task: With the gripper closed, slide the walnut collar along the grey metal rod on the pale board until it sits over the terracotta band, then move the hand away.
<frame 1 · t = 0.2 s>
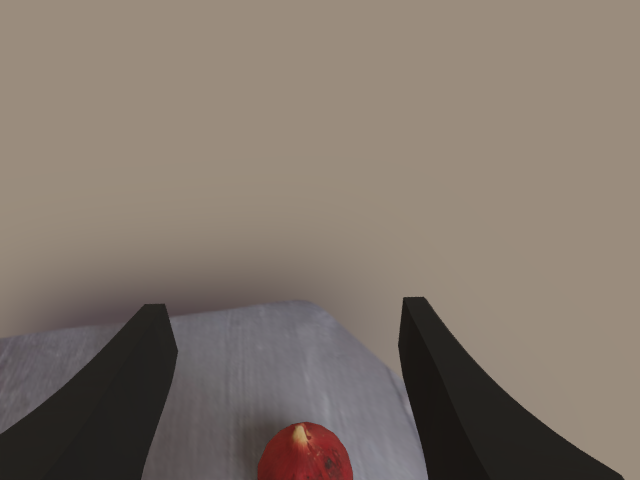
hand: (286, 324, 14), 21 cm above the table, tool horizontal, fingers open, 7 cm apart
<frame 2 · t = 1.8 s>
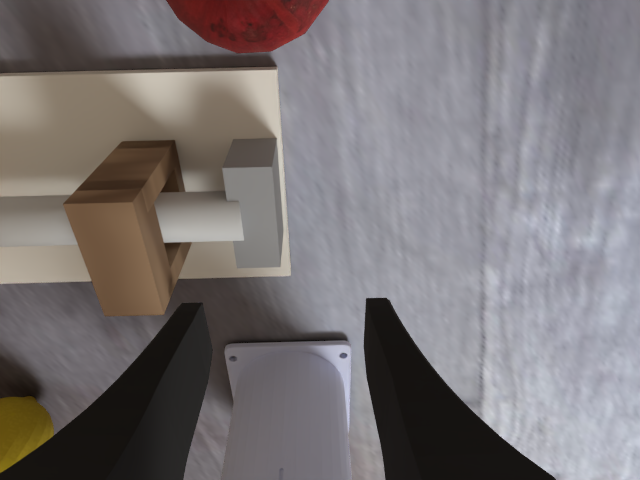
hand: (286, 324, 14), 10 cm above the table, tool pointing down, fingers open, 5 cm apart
collar: (141, 223, 19), point 4 cm above the table, slide at -6.0 cm
rail: (44, 187, 23), on the table
lemon: (33, 395, 32), on the table
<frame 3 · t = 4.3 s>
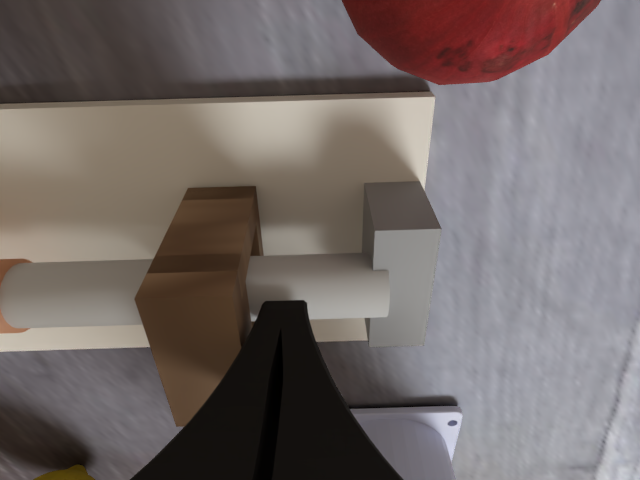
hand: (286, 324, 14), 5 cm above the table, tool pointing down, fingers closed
collar: (218, 298, 15), point 4 cm above the table, slide at -4.7 cm, touching gripper
rail: (115, 239, 18), on the table
lemon: (81, 462, 27), on the table
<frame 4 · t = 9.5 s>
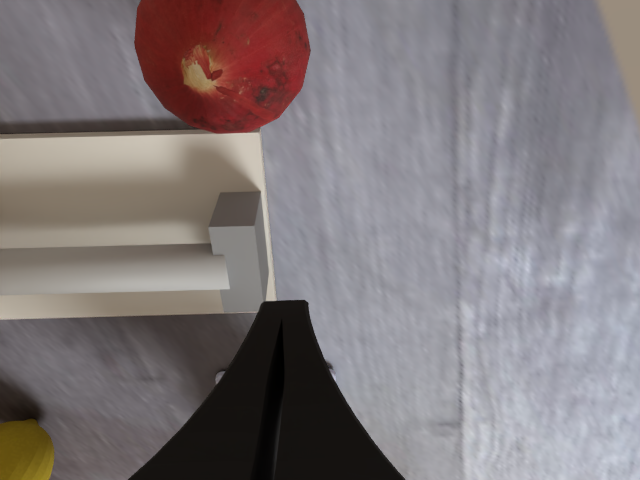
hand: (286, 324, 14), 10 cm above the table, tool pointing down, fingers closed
rail: (44, 233, 24), on the table
lemon: (34, 417, 33), on the table
red pomegranate: (239, 28, 19), on the table
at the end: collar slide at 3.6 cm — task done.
